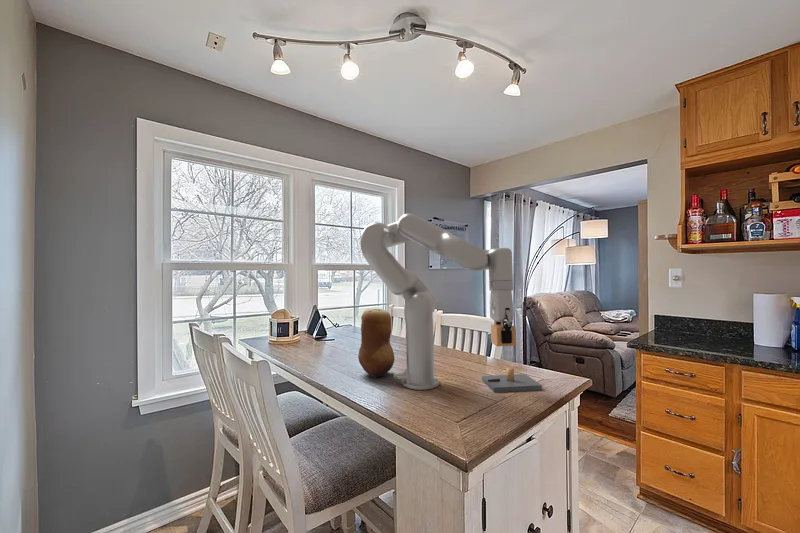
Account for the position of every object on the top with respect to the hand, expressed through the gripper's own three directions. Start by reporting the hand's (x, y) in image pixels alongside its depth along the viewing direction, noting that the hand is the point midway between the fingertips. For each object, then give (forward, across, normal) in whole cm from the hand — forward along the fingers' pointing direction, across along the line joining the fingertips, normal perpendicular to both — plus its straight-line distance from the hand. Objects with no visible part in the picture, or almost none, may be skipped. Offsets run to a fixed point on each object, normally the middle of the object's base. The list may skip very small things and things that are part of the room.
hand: (503, 340), depth 115 cm
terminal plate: (+16, -4, +3) cm, 17 cm away
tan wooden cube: (+1, 0, 0) cm, 1 cm away
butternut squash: (+15, -19, -42) cm, 49 cm away
